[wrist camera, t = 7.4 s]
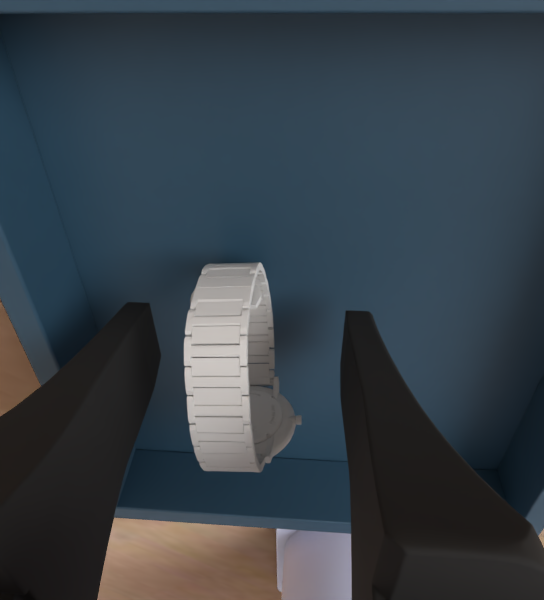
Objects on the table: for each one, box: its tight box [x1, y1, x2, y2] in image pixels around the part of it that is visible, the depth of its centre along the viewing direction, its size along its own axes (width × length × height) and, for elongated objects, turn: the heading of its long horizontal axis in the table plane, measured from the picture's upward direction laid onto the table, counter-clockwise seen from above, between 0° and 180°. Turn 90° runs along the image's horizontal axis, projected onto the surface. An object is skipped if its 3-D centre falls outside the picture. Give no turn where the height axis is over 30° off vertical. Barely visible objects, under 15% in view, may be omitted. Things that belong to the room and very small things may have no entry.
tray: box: [0, 0, 544, 535], centre depth 14 cm, size 18×16×3 cm
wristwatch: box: [184, 262, 302, 473], centre depth 13 cm, size 3×5×5 cm, turn 6°
